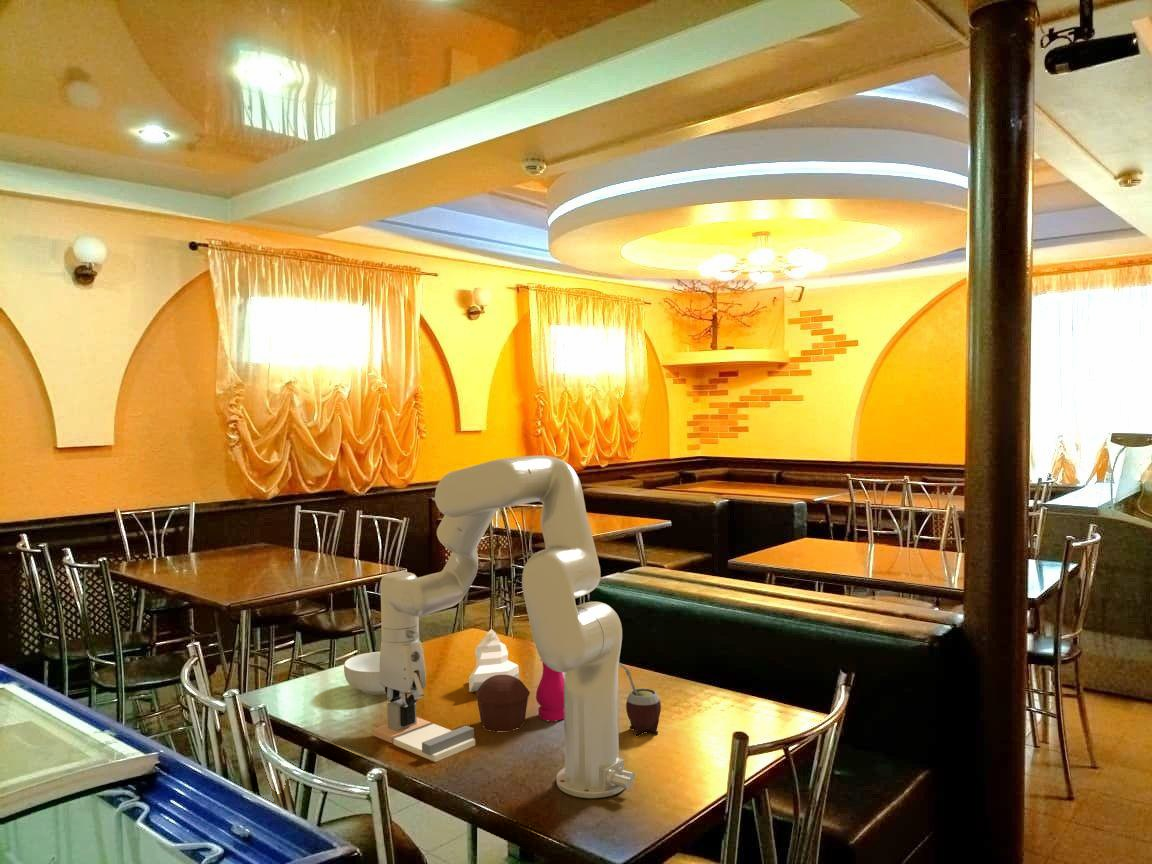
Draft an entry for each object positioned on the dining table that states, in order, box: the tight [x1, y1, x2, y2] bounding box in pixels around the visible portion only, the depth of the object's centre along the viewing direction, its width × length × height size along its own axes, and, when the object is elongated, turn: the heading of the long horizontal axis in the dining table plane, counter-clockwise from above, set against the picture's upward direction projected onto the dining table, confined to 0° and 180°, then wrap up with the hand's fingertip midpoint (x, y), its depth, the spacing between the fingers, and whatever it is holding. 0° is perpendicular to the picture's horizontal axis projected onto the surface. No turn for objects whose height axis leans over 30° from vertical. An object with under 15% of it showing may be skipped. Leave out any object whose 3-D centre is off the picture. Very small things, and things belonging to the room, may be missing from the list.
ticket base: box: [392, 722, 476, 763], centre depth 161 cm, size 13×11×3 cm
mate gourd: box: [619, 662, 662, 737], centre depth 166 cm, size 8×8×15 cm
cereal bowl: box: [343, 651, 387, 696], centre depth 194 cm, size 17×17×7 cm
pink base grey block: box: [372, 696, 432, 744], centre depth 168 cm, size 6×10×6 cm, turn 139°
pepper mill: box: [535, 658, 565, 722], centre depth 175 cm, size 7×7×20 cm
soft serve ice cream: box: [468, 628, 520, 693], centre depth 196 cm, size 12×15×14 cm
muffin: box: [474, 675, 531, 733], centre depth 171 cm, size 12×11×10 cm
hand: (402, 721), depth 168 cm, fingers closed on pink base grey block, 3 cm apart
